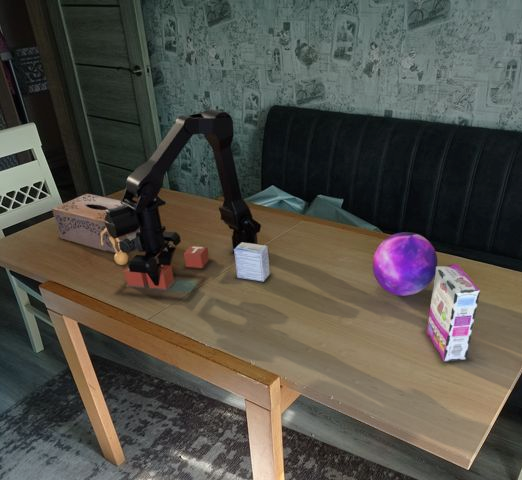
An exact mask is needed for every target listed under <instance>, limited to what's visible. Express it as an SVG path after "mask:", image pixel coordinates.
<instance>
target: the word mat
mask: <svg viewBox="0 0 522 480" xmlns="http://www.w3.org/2000/svg"><path fill="white" fill-rule="evenodd" d="M198 283H199V281H195V280H184V279H178V280H177V279H175V278H174V281H173V282H172V283H171V284H170V285H169V286H168V288H167V289H159V288H149V284H148V283H147V285H146V286H145V287H138V286H128V285H127V284H126V285H125V287H127V288H139V289H149V290H157V291H158V290H159V291H168V290H169V291H170V292H178V293H179V292H180V293H189V294H190V293H191V292H192V291H193V289H194V288H195V287H196V285H198ZM172 285H173V286H172Z"/></svg>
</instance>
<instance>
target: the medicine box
mask: <svg viewBox="0 0 522 480" xmlns="http://www.w3.org/2000/svg"><path fill="white" fill-rule="evenodd" d="M258 244H259V243H258ZM258 244H251V243H243V242H242V243H240V244H239V245H238V246H237V247H236V248H235V249H233V251H234V252H235V254H234V259H235V260H234V261H235V268H236V277H237V278H238V279H245V280H251V281H257V282H258V281H259V282H265V280H266V279H267V278H268V277H269V276H270V275H271V271H270V270H271V269H270V261H269V260H270V259H269V247H268V245H264V244H260V245H258Z"/></svg>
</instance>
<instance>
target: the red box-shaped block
mask: <svg viewBox="0 0 522 480" xmlns="http://www.w3.org/2000/svg"><path fill="white" fill-rule="evenodd" d="M173 273H174V272H173V267H172V265H161V273H160V282H159V285H158V286H155V285H154V283H153V282H152V280H151V279H150V277H149V276H148V274H147V273H146V275H147V280H148V287H149V288H159V289H167V288H168V286H169V285H170V284H171V283H172V282H173V281H174V279H175V277H174V274H173Z"/></svg>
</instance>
